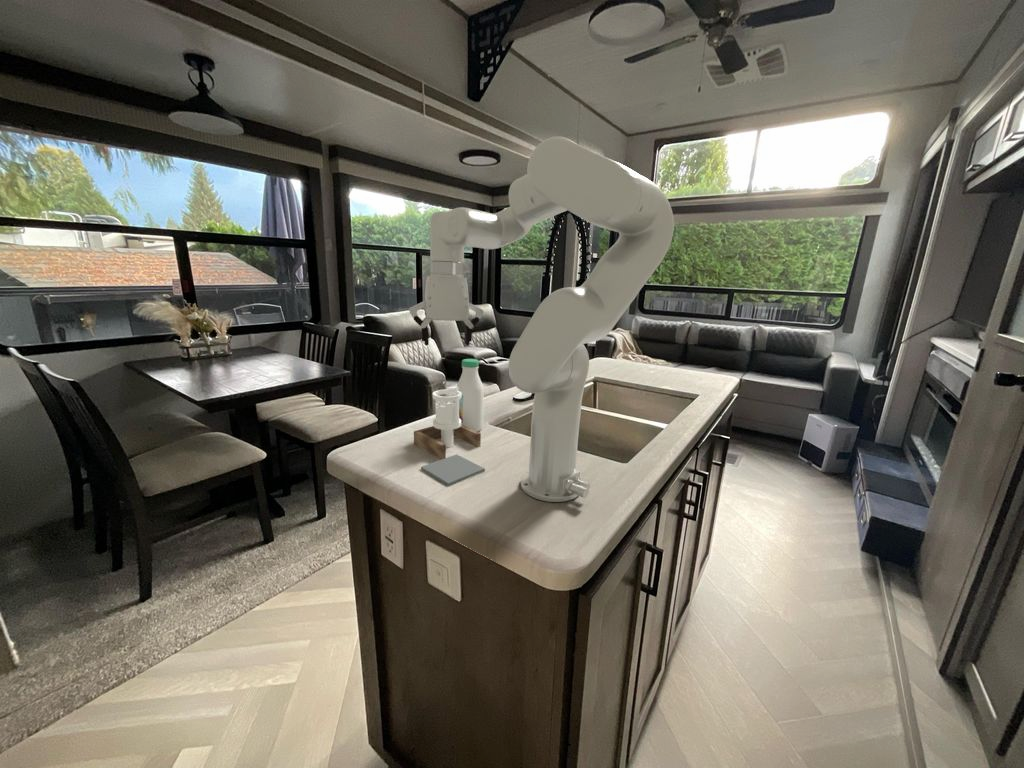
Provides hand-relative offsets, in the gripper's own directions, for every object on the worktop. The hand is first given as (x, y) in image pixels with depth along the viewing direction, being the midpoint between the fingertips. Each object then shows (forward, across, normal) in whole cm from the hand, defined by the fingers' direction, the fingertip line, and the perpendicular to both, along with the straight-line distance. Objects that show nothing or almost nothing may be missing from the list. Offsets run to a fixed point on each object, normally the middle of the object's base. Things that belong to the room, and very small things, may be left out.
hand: (446, 344), depth 96 cm
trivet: (+26, 0, +14) cm, 30 cm away
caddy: (+26, 0, 0) cm, 26 cm away
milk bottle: (+26, -8, -10) cm, 29 cm away
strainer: (+26, 0, 0) cm, 26 cm away
